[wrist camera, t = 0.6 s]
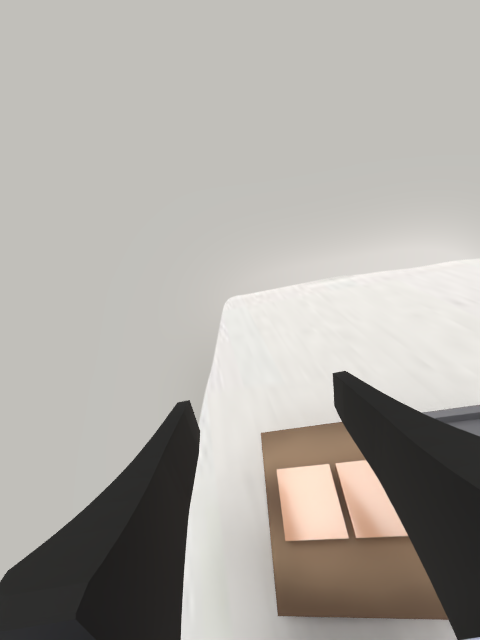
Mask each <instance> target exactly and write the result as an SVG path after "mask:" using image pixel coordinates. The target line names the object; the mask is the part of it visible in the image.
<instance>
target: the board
mask: <svg viewBox="0 0 480 640" xmlns="http://www.w3.org/2000/svg"><path fill="white" fill-rule="evenodd" d="M261 440H262V450H263V461H264V472H265V482H266V493H267V504H268V515H269V525H270V536H271V547H272V557H273V568H274V579H275V589H276V600H277V611H278V616H303V617H350V618H396V619H443V620H449V619H448V617H447V615H446V613H445V611H444V609H443V607H442V605H441V602H440V600H439V598H438V596H437V594H436V592H435V590H434V588H433V585H432V583H431V581H430V579H429V577H428V575H427V573H426V571H425V569H424V567H423V565H422V563H421V561H420V559H419V557H418V555H417V553H416V550H415V548H414V546H413V544H412V542H411V540H410V538H409V536H393V537H369V538H355V537H354V533H353V530H352V526H351V523H350V519H349V516H348V512H347V508H346V505H345V501H344V498H343V494H342V491H341V487H340V483H339V480H338V476H337V473H336V469H335V463H343V462H353V461H362V460H366V459H365V457H364V456H363V454H362V453H361V451H360V450H359V448H358V447H357V445H356V444H355V442H354V440H353V439H352V437H351V436H350V434H349V433H348V431H347V429H346V428H345V426H344V424H343V422H338V423H331V424H323V425H316V426H309V427H301V428H294V429H287V430H279V431H272V432H265V433H261ZM324 464H329V465H330V469H331V473H332V477H333V481H334V484H335V488H336V492H337V496H338V499H339V503H340V507H341V511H342V514H343V518H344V522H345V526H346V529H347V533H348V537H349V538H346V539H322V540H299V541H285V533H284V525H283V517H282V509H281V501H280V493H279V485H278V477H277V469H285V468H295V467H305V466H314V465H324Z"/></svg>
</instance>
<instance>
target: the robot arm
mask: <svg viewBox="0 0 480 640" xmlns="http://www.w3.org/2000/svg"><path fill="white" fill-rule="evenodd" d="M333 386H334V405H335V408H336V410H337V412H338V414H339V416H340V418H341V420H342V422H343V424H344V426H345V428H346V429H347V431H348V433H349V434H350V436H351V437H352V439H353V440H354V442H355V444H356V445H357V447H358V448H359V450H360V451H361V453H362V454H363V456H364V457H365V459H366V461H367V462H368V464H369V465H370V467H371V468H372V470H373V471H374V473H375V475H376V476H377V478H378V480H379V481H380V483H381V485H382V487H383V489H384V490H385V492H386V494H387V496H388V498H389V500H390V502H391V504H392V505H393V507H394V509H395V511H396V513H397V515H398V517H399V519H400V521H401V523H402V525H403V527H404V529H405V531H406V532H407V534H408V536H409V538H410V540H411V542H412V544H413V546H414V548H415V550H416V553H417V555H418V557H419V559H420V561H421V563H422V565H423V567H424V569H425V571H426V573H427V575H428V577H429V579H430V581H431V583H432V585H433V588H434V590H435V592H436V594H437V596H438V598H439V600H440V602H441V605H442V607H443V609H444V611H445V613H446V615H447V617H448V619H449V622H450V624H451V626H452V628H453V630H454V633H455V635H456V637H457V639H458V640H480V436H478V435H475V434H472V433H470V432H467V431H464V430H461V429H459V428H456V427H454V426H451V425H449V424H446V423H444V422H441V421H439V420H437V419H435V418H432V417H430V416H428V415H425V414H423V413H421V412H419V411H417V410H415V409H413V408H411V407H409V406H407V405H405V404H403V403H401V402H399V401H397V400H395V399H393V398H391V397H389V396H387V395H386V394H384V393H382V392H380V391H379V390H377V389H375V388H373V387H372V386H370V385H368V384H367V383H365V382H363V381H362V380H360V379H358V378H357V377H355V376H353V375H351V374H350V373H348V372H346V371H342V372H337V373H333ZM199 442H200V430H199V427H198V424H197V421H196V418H195V415H194V412H193V409H192V406H191V403H190V400H189V401H184V402H179V403H177V404H176V406H175V407H174V408H173V410H172V411H171V412H170V414H169V415H168V416H167V418H166V419H165V421H164V422H163V424H162V425H161V426H160V427H159V429H158V430H157V431H156V433H155V434H154V435H153V437H152V438H151V439H150V440H149V442H148V443H147V444H146V445H145V447H144V448H143V449H142V450H141V451H140V453H139V454H138V455H137V456H136V458H135V459H134V460H133V461H132V462H131V463H130V464H129V465H128V466H127V468H126V469H125V470H124V471H123V472H122V473H121V474H120V475H119V476H118V477H117V478H116V479H115V480H114V481H113V482H112V483H111V484H110V485H109V486H108V487H107V488H106V489H105V490H104V491H103V492H102V493H101V494H100V495H99V496H98V497H97V498H96V499H95V500H94V501H92V502H91V503H90V505H88V506H87V507H86V508H85V509H84V510H83V511H82V512H80V513H79V514H78V515H77V516H76V517H75V518H74V519H73V520H71V521H70V522H69V523H68V524H66V525H65V526H64V527H63V528H62V529H61V530H59V531H58V532H57V533H56V534H55V535H53V536H52V537H51V538H50V539H48V540H47V541H46V542H45V543H43V544H42V545H41V546H39V547H38V548H37V549H36V550H34V551H33V552H32V553H30V554H29V555H28V556H27V557H25V558H24V559H23V560H22V561H20V562H19V563H18V564H16V565H15V566H14V567H12V568H11V569H10V570H8V571H7V573H6V574H5V576H4V577H3V579H2V580H1V582H0V640H181V615H182V597H183V578H184V564H185V550H186V538H187V526H188V516H189V508H190V502H191V496H192V490H193V484H194V479H195V473H196V467H197V461H198V455H199Z"/></svg>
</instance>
